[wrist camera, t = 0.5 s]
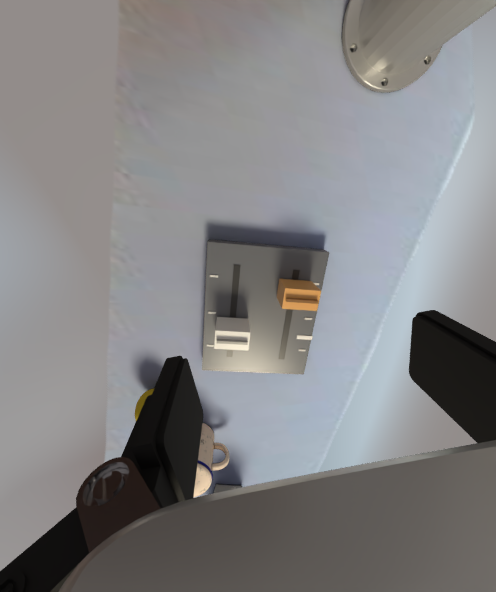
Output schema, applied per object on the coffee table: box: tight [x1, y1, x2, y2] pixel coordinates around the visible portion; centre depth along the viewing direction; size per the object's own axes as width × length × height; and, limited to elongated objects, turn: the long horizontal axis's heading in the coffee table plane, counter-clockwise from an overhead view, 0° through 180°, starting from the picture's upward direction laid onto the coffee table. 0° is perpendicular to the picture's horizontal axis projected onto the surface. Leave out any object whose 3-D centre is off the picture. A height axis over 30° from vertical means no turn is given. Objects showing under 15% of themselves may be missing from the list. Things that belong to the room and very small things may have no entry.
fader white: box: [214, 317, 250, 351], centre depth 38 cm, size 3×5×5 cm, turn 84°
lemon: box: [135, 388, 154, 421], centre depth 44 cm, size 6×6×8 cm
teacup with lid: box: [193, 423, 229, 497], centre depth 47 cm, size 12×9×12 cm
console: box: [202, 239, 329, 374], centre depth 42 cm, size 22×18×2 cm
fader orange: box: [277, 279, 321, 311], centre depth 37 cm, size 3×5×5 cm, turn 84°
